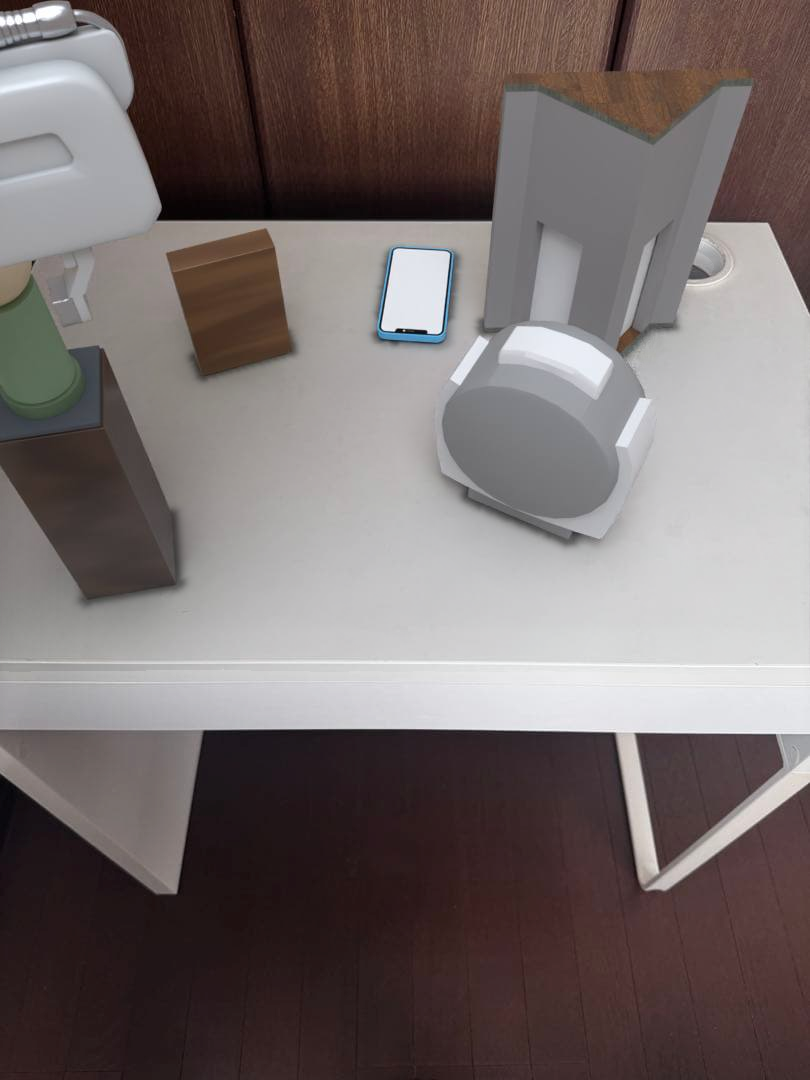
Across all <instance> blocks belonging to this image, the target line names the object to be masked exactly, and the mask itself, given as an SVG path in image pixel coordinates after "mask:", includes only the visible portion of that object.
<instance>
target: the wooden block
mask: <svg viewBox="0 0 810 1080" xmlns="http://www.w3.org/2000/svg"><path fill="white" fill-rule="evenodd" d="M165 255H166V259H167V263H168V266H169V270H170V274H171V276H172V281H173V284H174V287H175V290H176V294H177V297H178V300H179V304H180V307H181V311H182V314H183V318H184V321H185V324H186V327H187V328H186V329H187V330H188V331H187V332H188V335H189V338H190V342H191V345H192V349H193V352H194V355H195V358H196V361H197V364H198V368H199V370H200V373H201V376H202V377H205V376H209V375H212V374H216V373H220V372H223V371H227V370H232V369H235V368H238V367H241V366H245V365H250V364H253V363H256V362H260V361H263V360H267V359H270V358H274V357H278V356H281V355H285V354H288V353H292V351H293V349H292V343H291V337H290V331H289V325H288V319H287V318H288V317H287V313H286V306H285V299H284V293H283V288H282V282H281V281H282V280H281V274H280V270H279V264H278V257H277V251H276V246H275V243H274V241H273V239H272V237H271V234H270V233H269V231H268V229H267V227H264V228H260V229H256V230H252V231H248V232H245V233H240V234H236V235H233V236H229V237H228V236H227V237H224V238H220V239H215V240H213V241H208V242H204V243H200V244H196V245H192V246H187V247H184V248H179V249H175V250H172V251H167V252H166V253H165Z"/></svg>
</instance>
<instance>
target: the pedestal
mask: <svg viewBox="0 0 810 1080" xmlns="http://www.w3.org/2000/svg"><path fill="white" fill-rule="evenodd" d="M100 349H101V426H99V427H92V428H85V429H79V430H72V431H65V432H58V433H52V434H45V435H38V436H32V437H25V438H18V439H12V440H5V441H0V468H1V469H2V471H3V473H4V474H5V476H6V477H7V479H8V480H9V482H10V483H11V485H12V486H13V488H14V489H15V491H16V492H17V494H18V495H19V497H20V499H21V500H22V501H23V504H24V505H25V506H26V508H27V509H28V511H29V513H30V514H31V516H32V517H33V519H34V521H35V522H36V523H37V525H38V526H39V528H40V529H41V531H42V533H43V534H44V535H45V537H46V539H47V540H48V542H49V543H50V545H51V546H52V548H53V550H54V551H55V553H56V554H57V556H58V557H59V559H60V560H61V562H62V564H63V565H64V567H65V568H66V569H67V571H68V572H69V574H70V575H71V577H72V578H73V580H74V582H75V583H76V585H77V586H78V588H79V589H80V591H81V592H82V594H83V596H84V597H85V599H86V600H91V599H92V600H93V599H98V598H105V597H110V596H116V595H123V594H127V593H133V592H134V593H135V592H139V591H145V590H151V589H158V588H163V587H169V586H175V585H177V581H176V578H177V577H176V566H175V565H176V562H175V561H176V560H175V546H174V545H175V543H174V529H173V514H172V511H171V509H170V506H169V503H168V502H167V499H166V496H165V494H164V491H163V489H162V487H161V485H160V482H159V479H158V477H157V475H156V472H155V470H154V467H153V465H152V462H151V460H150V457H149V456H148V455H149V454H148V453H147V450H146V448H145V445H144V443H143V441H142V438H141V436H140V434H139V431H138V429H137V427H136V424H135V421H134V419H133V416H132V413H131V411H130V409H129V407H128V404H127V401H126V399H125V397H124V394H123V391H122V389H121V387H120V385H119V382H118V380H117V377H116V375H115V373H114V370H113V367H112V365H111V363H110V360H109V358H108V355H107V353H106V350H105V348H104V347H100Z"/></svg>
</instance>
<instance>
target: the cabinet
mask: <svg viewBox="0 0 810 1080" xmlns="http://www.w3.org/2000/svg"><path fill="white" fill-rule="evenodd" d="M755 79H756V77H755V75H754V73H753V71H752V68H751V67H741V68H740V67H737V68H735V67H734V68H732V67H731V68H695V69H694V68H693V69H654V70H653V69H652V70H651V69H650V70H647V69H646V70H617V71H616V70H614V71H613V70H611V71H571V72H570V71H568V72H567V71H566V72H529V73H527V72H526V73H505V74H504V83H503V84H504V85H503V96H502V107H501V115H500V116H501V117H500V130H499V140H498V150H497V161H496V162H497V163H496V174H495V182H494V183H495V185H494V196H493V206H492V207H493V208H492V217H491V227H490V228H491V229H490V241H489V250H488V251H489V252H488V262H487V274H486V286H485V295H484V305H483V306H484V307H483V318H482V326H483V333H498V332H499V331H501V330H502V329H504V328H506V327H507V326H509V325H513V324H517V323H521V322H525V321H555V322H559V323H563V324H567V325H571V326H575V327H578V328H580V329H582V330H584V331H586V332H588V333H590V334H593V335H595V336H597V337H598V338H600V339H601V340H603V341H604V342H605V343H607V344H608V345H609V346H611V347H612V348H613V349H615V350H616V351H617V352H618V353H619V354H620V355H621V356H622V355H624V354H625V352H626V351H628V349H630V347H631V346H632V345H633V344H634V343H635V342H637V340H638V339H640V337H641V336H642V335H643V334H644V333H645V332H646V331H647V330H648V329H655V328H656V329H658V328H659V329H661V328H673V325H674V322H675V321H676V320H675V319H676V317H677V313H678V310H679V307H680V304H681V302H682V299H683V297H684V296H683V295H684V293H685V290H686V287H687V283H688V280H689V278H690V274H691V272H692V268H693V266H694V263H695V259H696V256H697V254H698V251H699V247H700V245H701V241H702V238H703V236H704V233H705V229H706V226H707V223H708V220H709V217H710V214H711V212H712V208H713V206H714V202H715V199H716V196H717V193H718V191H719V188H720V185H721V182H722V179H723V176H724V173H725V170H726V167H727V163H728V160H729V158H730V154H731V152H732V149H733V146H734V143H735V140H736V137H737V134H738V130H739V128H740V124H741V122H742V119H743V116H744V113H745V109H746V107H747V103H748V101H749V98H750V95H751V92H752V88H753V85H754V82H755Z"/></svg>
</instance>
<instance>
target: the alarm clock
mask: <svg viewBox="0 0 810 1080" xmlns="http://www.w3.org/2000/svg"><path fill="white" fill-rule="evenodd" d="M434 425H435V426H434V429H435V440H436V449H437V450H436V451H437V455H438V460H439V466H440V470H441V474H443V475H445V476H447V477H449V478H451V479H452V480H453V481H456V482H458V483H459V484H461V485H463V486H464V487H467V488H468V495H467V497H468V499H471V500H473V501H476V502H478V503H481V504H484V505H485V506H487V507H490V508H493V509H494V510H497V511H500V512H501V513H504V514H507V515H509V516H511V517H513V518H516V519H519V520H521V521H523V522H526V523H528V524H531V525H532V526H535V527H537V528H540V529H542V530H544V531H546V532H550V533H551V534H554V535H556V536H559V537H560V538H563V539H566V540H570V539H571V537H572V535H573V533H574V532H576V533H579V534H582V535H585V536H589V537H591V538H595V539H599V540H602V538H603V537H604V536H605V535H606V534H607V532H608V531H609V529H610V528H611V526H612V525H613V524H614V523H615V521H616V519H617V518H618V516H619V513H620V512H621V510H622V508H623V506H624V504H625V502H626V500H627V498H628V496H629V494H630V492H631V491H632V488H633V486H634V484H635V482H636V479H637V478H638V476H639V474H640V472H641V470H642V467H643V466H644V464H645V462H646V460H647V457H648V455H649V452H650V450H651V447H652V446H653V443H654V439H655V434H656V426H657V416H656V411H655V406H654V402H653V399H652V398H646V393H645V389H644V387H643V385H642V383H641V382H640V380H639V378H638V376H637V374H636V372H635V370H634V368H633V367H632V366H631V365H630V364H629V363H628V361H627V360H626V359H625V358H624V357H623V356H622V355H620V354H619V353H618V352H617V351H616V350H615V349H613V348H612V347H611V346H609V345H608V344H607V343H605V342H604V341H603V340H601V339H600V338H598V337H597V336H595V335H593V334H590V333H588V332H586V331H584V330H582V329H580V328H578V327H575V326H571V325H567V324H563V323H559V322H555V321H525V322H521V323H517V324H513V325H509V326H507V327H506V328H504V329H502V330H501V331H499V332H495V333H494V334H493V335H492V337H490V339H489V340H487V339H486V338H484V337H482V336H481V335H478V336H477V338H476V339H475V341H473V343H472V344H471V346H470V347H469V348H468V349H467V351H466V353H465V354H464V355H463V357H462V358H461V359H460V361H459V362H458V364H457V365H456V367H455V368H454V370H453V372H452V373H451V375H450V376H449V377H448V379H447V380H446V381H445V383H444V385H443V386H442V387H441V389H440V390H439V391H438V396H437V400H436V403H435V409H434Z"/></svg>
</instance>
